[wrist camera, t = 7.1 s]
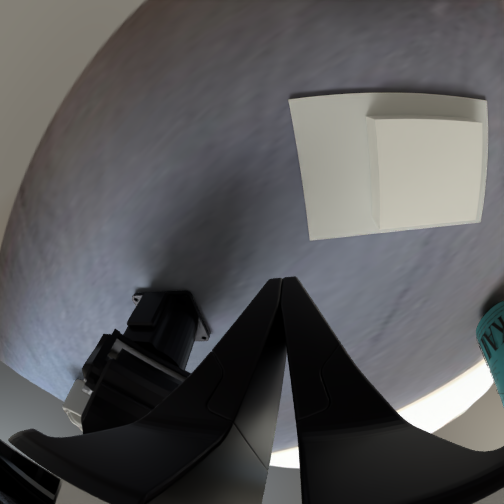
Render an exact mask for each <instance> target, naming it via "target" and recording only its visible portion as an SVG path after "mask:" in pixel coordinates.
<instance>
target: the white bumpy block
mask: <svg viewBox="0 0 504 504" xmlns="http://www.w3.org/2000/svg"><path fill="white" fill-rule="evenodd" d="M84 384H85V383H84V382H83V381H82V380H79V379H76V380H75V382H74V384H73V386H72V388H71V390H70V392H69V394H68V396H67V398H66V400H65V402H64V404H63V406H62V408H63V409H64V412H66V413H67V414H68V417H69V419H70V421H71V422H72V423H73V424H75V425H77V426H78V427H79V428H80V430H81V431H83V430H82V424H81V415H82V413H83V410H84V408H85V406H86V404H87V402H88V400H89V398H90V396H89V395H87V394H86V393H84V392H83V391H82V389H83V387H84Z"/></svg>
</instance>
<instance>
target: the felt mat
mask: <svg viewBox="0 0 504 504" xmlns="http://www.w3.org/2000/svg"><path fill="white" fill-rule="evenodd" d="M288 101H289V106H290V111H291V117H292V122H293V128H294V133H295V139H296V145H297V151H298V157H299V163H300V170H301V177H302V183H303V190H304V198H305V205H306V213H307V221H308V229H309V237H310V241H312V240H321V239H330V238H339V237H348V236H357V235H366V234H375V233H384V232H394V231H403V230H412V229H422V228H431V227H440V226H450V225H460V224H469V223H479V222H481V216H482V209H483V202H484V194H485V185H486V174H487V158H488V114H487V101H485V100H480V99H473V98H466V97H457V96H448V95H437V94H422V93H351V94H335V95H323V96H313V97H304V98H296V99H288ZM382 115H424V116H446V117H460V118H468V119H471V120H475V121H478V122H481V123H482V169H481V182H480V192H479V201H478V208H477V215H476V220H470V221H460V222H450V223H440V224H430V225H420V226H410V227H401V228H391V229H382V230H379V228H378V226H377V224H376V223H375V221H374V219H373V217H372V194H371V171H370V156H369V144H368V134H367V124H366V116H382Z"/></svg>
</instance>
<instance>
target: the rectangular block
mask: <svg viewBox="0 0 504 504" xmlns="http://www.w3.org/2000/svg"><path fill="white" fill-rule="evenodd" d="M366 124H367V134H368V144H369V156H370V171H371V194H372V217H373V219H374V221H375V223H376V224H377V226H378V228H379V230H382V229H391V228H401V227H410V226H420V225H430V224H440V223H450V222H460V221H470V220H476V215H477V208H478V201H479V192H480V182H481V169H482V123H481V122H478V121H475V120H471V119H468V118H460V117H446V116H424V115H382V116H366Z"/></svg>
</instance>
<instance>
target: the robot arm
mask: <svg viewBox="0 0 504 504" xmlns="http://www.w3.org/2000/svg"><path fill="white" fill-rule="evenodd" d="M186 296H187V297H186ZM132 300H133V302H134V304H135V305H136V308H135V309H134V311H133V313H132V314H131V316H130V318H129V320H128V322H127V325H128V327H127V329H126V331H125V333H124V334H123V335H122V334H121V333H120V331H118V330H116V329H115V330H114V331H113V333H112V335H111V334H103V336H102V337H101V339H100V341H99V343H98V344H97V346H96V348H95V349H94V351H93V352H92V354H91V355H90V356H89V358H88V359H87V361H86V362H85V364H84V366H83V368H82V371H83V375H84V378H85V379H84V381H83V382H84V383H85V384H84V387H83V389H82V391H83V392H84V393H86V394H87V395H89V396H90V398H89V400H88V402H87V404H86V406H85V408H84V410H83V413H82V415H81V424H82V430H83V435H77V436H72V437H63V438H59V437H49V436H46V435H44V434H42V433H41V432H39V431H37V430H35V429H28V430H24V431H20V432H17V433H16V434H14V435H12V436H11V437H10V438H9V442H10V443H11V444H12V445H14V446H15V447H16V448H17V449H19V450H20V451H21V452H23V453H24V454H26V455H27V456H28V457H29V458H31V459H32V460H34V461H35V462H37V463H38V464H39V465H41V466H42V467H44V468H45V469H44V468H42V467H41V466H39V465H38V464H36V463H34V462H33V461H31V460H30V459H28V458H27V457H25V456H23V455H22V454H20V453H19V452H17V451H16V450H14V449H13V448H11V447H10V446H9V445H8V444H6V443H5V442H3V441H2V440H1V439H0V504H262V499H263V494H264V489H265V484H266V479H267V474H268V469H269V463H270V458H271V453H272V447H273V441H274V435H275V429H276V423H277V417H278V411H279V404H280V398H281V391H282V384H283V377H284V370H285V362H286V355H287V356H288V363H289V371H290V378H291V386H292V394H293V402H294V411H295V419H296V427H297V437H298V447H299V462H300V478H301V493H302V494H301V495H302V504H504V446H503V447H501V448H499V449H497V450H494V451H486V452H483V451H475V450H470V449H467V448H465V447H462V446H460V445H457V444H455V443H452V442H450V441H447V440H445V439H442V438H440V437H437V436H435V435H433V434H430V433H428V432H426V431H424V430H421V429H419V428H417V427H415V426H413V425H411V424H410V423H408V422H407V421H406V420H404V419H403V418H402V417H401V416H400V415H399V414H398V413H397V412H396V411H395V410H394V409H393V407H392V406H391V405H390V404H389V403H388V402H387V401H386V400H385V398H384V397H383V396H382V395H381V394H380V393H379V392H378V391H377V389H376V388H375V387H374V386H373V385H372V384H371V383H370V382H369V380H368V379H367V378H366V377H365V376H364V374H363V373H362V372H361V371H360V370H359V368H358V367H357V366H356V364H355V363H354V362H353V360H352V359H351V357H350V356H349V355H348V353H347V352H346V350H345V348H344V347H343V345H341V343H340V341H339V340H338V338H337V336H336V335H335V333H334V332H333V330H332V329H331V327H330V326H329V324H328V323H327V321H326V320H325V318H324V317H323V315H322V314H321V312H320V311H319V309H318V308H317V306H316V305H315V303H314V302H313V300H312V299H311V297H310V296H309V294H308V293H307V291H306V290H305V288H304V287H303V285H302V284H301V282H300V281H299V280H298V278H297V277H295V276H294V277H285V278H283V279H282V278H273V279H269V280H268V281H267V283H266V284H265V285H264V286H263V288H262V289H261V290H260V291H259V293H258V294H257V295H256V296H255V298H254V299H253V300H252V301H251V303H250V304H249V305H248V306H247V308H246V309H245V310H244V311H243V313H242V314H241V315H240V316H239V318H238V319H237V320H236V321H235V323H234V324H233V325H232V326H231V327H230V329H229V330H228V331H227V332H226V334H225V335H224V336H223V337H222V338H221V340H220V341H219V342H218V343H217V345H216V346H215V347H214V348H213V349H212V352H210V353H209V354H208V355H207V356H206V358H205V359H204V360H203V361H202V362H201V363H200V365H199V366H198V367H197V368H196V369H195V370H194V371H193V372H192V373H189V372H187V371H185V368H186V365H187V362H188V359H189V356H190V353H191V350H192V347H193V344H194V341H208V340H209V337H210V335H209V333H208V331H207V328H206V326H205V324H204V322H203V320H202V317H201V315H200V313H199V310H198V308H197V306H196V304H195V301H194V299H193V297H192V294H191V293H190V292H189V291H169V292H151V293H135V294H134V295H133V296H132ZM46 469H47V470H49V471H50V472H51V473H50V472H49V471H47V470H46ZM52 473H53V474H52ZM55 475H56V476H55ZM57 476H58V477H57ZM60 478H61V479H60Z"/></svg>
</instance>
